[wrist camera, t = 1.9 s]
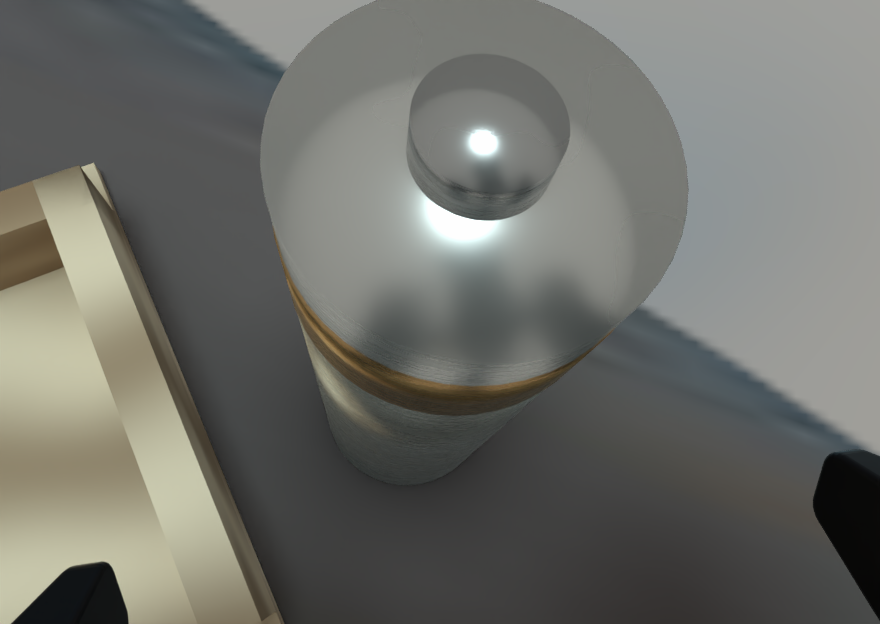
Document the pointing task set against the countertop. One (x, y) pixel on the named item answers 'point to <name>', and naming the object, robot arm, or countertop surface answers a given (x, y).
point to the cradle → (105, 425)
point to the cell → (462, 215)
